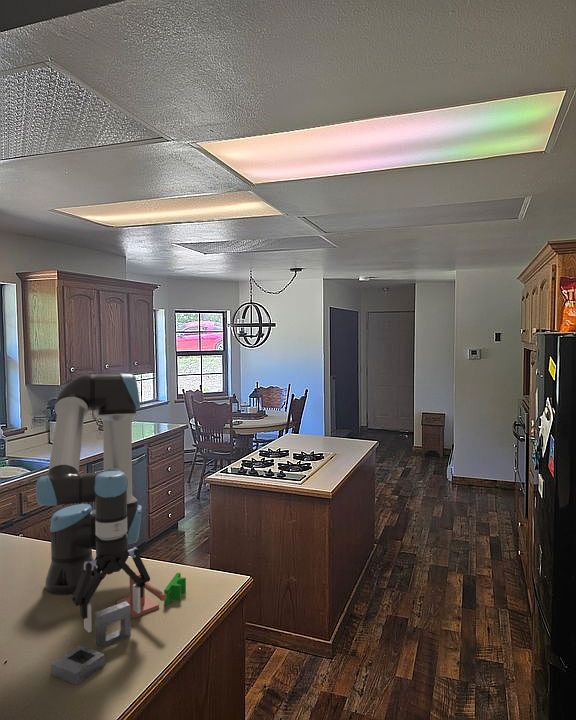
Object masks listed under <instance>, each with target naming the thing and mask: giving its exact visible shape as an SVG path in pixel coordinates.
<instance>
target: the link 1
mask: <svg viewBox="0 0 576 720" xmlns="http://www.w3.org/2000/svg"><path fill="white" fill-rule="evenodd" d="M105 658H106V657H105V654H104V653H102V652H99V651H97V650H94V649H92V648H90V647H86V646H83V645H81V644H80V645H78V646H77V647H74V648H73V649H72V650H71V651H68V652H67V653H66V654H63V656H61V657H59V658H57V660H54V661H53V662H51V664H50V672H51V673H50V674H51V676H53V677H56V678H58V679H61V680H63V681H65V682H68V683H71V684H72V685H75V686H78V685H79V684H81V683H82V682H83V681H85V680H86V679H88V678H89V677H90V676H92V675H93V674H94V673H95V672H97V671H99V670H100V669H101V668H102V667H104V666H105V664H106V662H105V661H106V659H105ZM80 661H83V662H84V663H83V664H82V663H80Z"/></svg>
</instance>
